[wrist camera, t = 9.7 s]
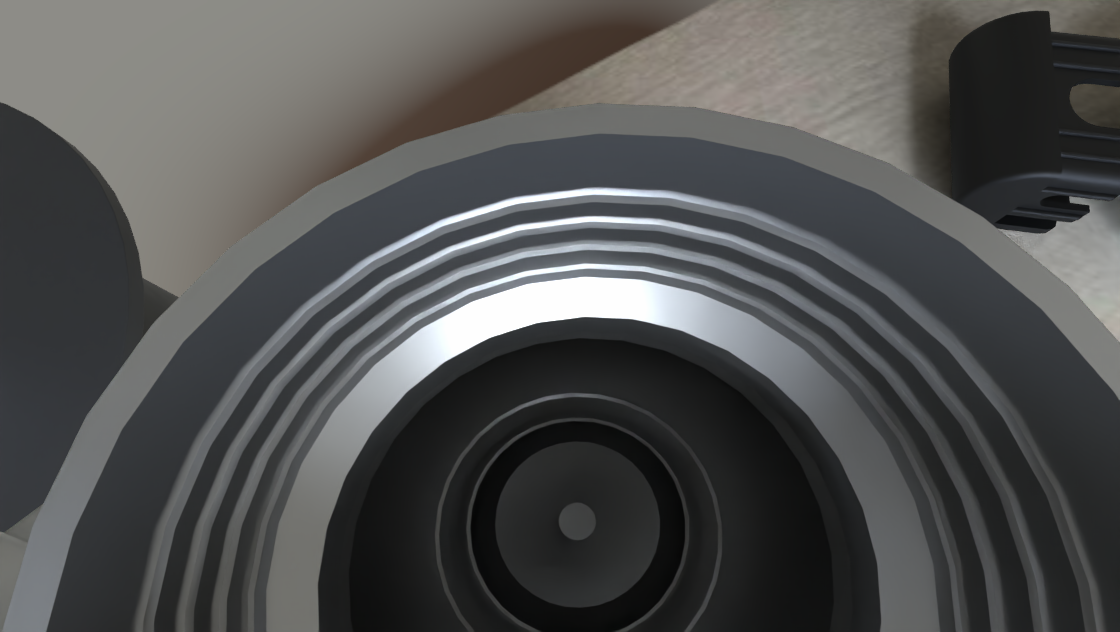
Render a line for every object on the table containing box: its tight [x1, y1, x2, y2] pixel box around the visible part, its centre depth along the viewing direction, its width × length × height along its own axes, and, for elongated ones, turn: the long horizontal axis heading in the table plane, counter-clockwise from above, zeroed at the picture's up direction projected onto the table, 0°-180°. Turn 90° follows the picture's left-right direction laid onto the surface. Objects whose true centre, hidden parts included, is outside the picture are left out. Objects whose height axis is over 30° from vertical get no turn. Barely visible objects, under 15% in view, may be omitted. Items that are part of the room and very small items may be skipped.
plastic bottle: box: [2, 103, 1120, 632], centre depth 11 cm, size 6×7×20 cm
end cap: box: [949, 11, 1120, 233], centre depth 35 cm, size 10×7×7 cm
